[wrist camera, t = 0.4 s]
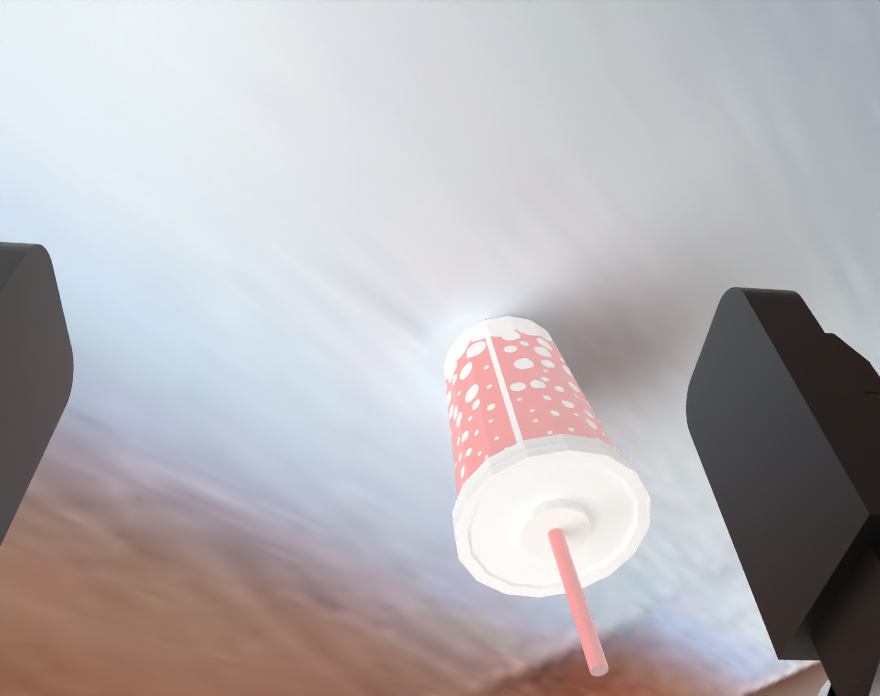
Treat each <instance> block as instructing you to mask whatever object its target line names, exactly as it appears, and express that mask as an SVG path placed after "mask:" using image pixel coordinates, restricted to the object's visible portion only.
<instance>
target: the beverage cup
mask: <svg viewBox="0 0 880 696" xmlns="http://www.w3.org/2000/svg"><path fill="white" fill-rule="evenodd" d="M444 372H445V381H446V391H447V400H448V409H449V418H450V427H451V437H452V446H453V455H454V464H455V473H456V483H457V492H458V498H457V501H456V504H455V506H454V509H453V512H452V516H453V522H454V524H453V527H454V533H455V539H456V545H457V552H458V557H459V560H460V561H461V562H462V563H463V565H464V566H465V567H466V568H467V569H468V571H469V572H470V573H471V574H472V575H473V577H474V578H475V579H476V580H477V581H479V582H481V583H483V584H485V585H487V586H489V587H492V588H494V589H496V590H498V591H500V592H502V593H505V594H511V595H521V596H531V597H545V596H551V595H556V594H562V593H566V596H567V599H568V602H569V605H570V609H571V612H572V615H573V618H574V621H575V625H576V628H577V631H578V634H579V638H580V641H581V644H582V647H583V650H584V654H585V657H586V660H587V663H588V666H589V670H590V673H591V674H592V675H593V676H602V675H604V674H605V673H607V671H608V665H607V662H606V659H605V656H604V653H603V650H602V647H601V644H600V641H599V638H598V635H597V632H596V629H595V626H594V623H593V620H592V617H591V614H590V611H589V608H588V605H587V602H586V599H585V596H584V593H583V590H582V588H584V587H586V586H588V585H590V584H592V583H594V582H596V581H599V580H601V579H603V578H605V577H607V576H609V575H610V574H612V573H613V572H614V571H615V570H616V569H617V568H618V567H619V566H621V565H622V564H623V563H624V562H625V561H626V560H627V559H629V558H630V557H631V556H632V555H633V554H634V553H635V552H636V550H637V548H638V546H639V545H640V543H641V541H642V539H643V537H644V535H645V533H646V532H647V530H648V528H649V526H650V495H649V493H648V491H647V489H646V488H645V486H644V484H643V483H642V481H641V479H640V477H639V476H638V474H637V472H636V471H635V469H634V467H633V465H632V464H631V462H630V460H629V459H628V457H627V456H626V455H625V454H623V453H621V452H620V451H618V450H616V449H615V448H614V447H613V445H612V444H611V442H610V440H609V438H608V436H607V435H606V433H605V431H604V429H603V428H602V426H601V424H600V422H599V421H598V419H597V417H596V415H595V414H594V412H593V410H592V408H591V407H590V405H589V403H588V401H587V399H586V398H585V396H584V394H583V392H582V391H581V389H580V387H579V385H578V384H577V382H576V380H575V378H574V377H573V375H572V373H571V371H570V370H569V368H568V366H567V364H566V362H565V361H564V359H563V357H562V355H561V354H560V352H559V350H558V348H557V347H556V345H555V343H554V342H553V340H552V338H551V337H550V335H549V333H548V331H546V330H545V329H543V328H542V327H540V326H539V325H537V324H536V323H534V322H533V321H531V320H528V319H523V318H518V317H512V316H504V317H498V318H492V319H486V320H483V321H482V322H480V323H478V324H476V325H474V326H472V327H471V328H469V329H467V330H465V331H464V332H463V333H462V334H461V335H460V337H459V338H458V339H457V340H456V341H455V342H454V343H453V345H452V346H451V347H450V349H449V352H448V355H447V358H446V361H445V364H444Z"/></svg>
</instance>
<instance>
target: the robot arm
mask: <svg viewBox="0 0 880 696" xmlns="http://www.w3.org/2000/svg"><path fill="white" fill-rule="evenodd" d="M72 381H73V353H72V348H71V343H70V339H69V335H68V330H67V326H66V322H65V317H64V313H63V308H62V304H61V300H60V295H59V291H58V287H57V282H56V278H55V274H54V269H53V265H52V261H51V258H50V256H49V253H48V252H47V250H46V249H45V248H44V247H43V246H42V245H39V244H26V243H9V242H0V546H1V544H2V541H3V539H4V537H5V535H6V533H7V531H8V529H9V526H10V524H11V522H12V520H13V518H14V516H15V514H16V511H17V509H18V507H19V505H20V503H21V501H22V499H23V496H24V494H25V492H26V490H27V488H28V486H29V484H30V482H31V479H32V477H33V475H34V473H35V471H36V469H37V467H38V464H39V462H40V460H41V458H42V456H43V454H44V452H45V449H46V447H47V445H48V443H49V441H50V439H51V437H52V434H53V432H54V430H55V428H56V426H57V424H58V422H59V419H60V417H61V415H62V413H63V411H64V409H65V407H66V404H67V402H68V399H69V396H70V392H71V388H72ZM686 414H687V423H688V428H689V431H690V434H691V437H692V439H693V442H694V444H695V447H696V450H697V452H698V455H699V457H700V460H701V462H702V465H703V468H704V470H705V473H706V475H707V478H708V480H709V483H710V485H711V488H712V491H713V493H714V496H715V498H716V501H717V503H718V506H719V509H720V511H721V514H722V516H723V519H724V521H725V524H726V526H727V529H728V532H729V534H730V537H731V539H732V542H733V544H734V547H735V550H736V552H737V555H738V557H739V560H740V562H741V565H742V567H743V570H744V573H745V575H746V578H747V580H748V583H749V585H750V588H751V591H752V593H753V596H754V598H755V601H756V603H757V606H758V608H759V611H760V614H761V616H762V619H763V621H764V624H765V626H766V629H767V632H768V634H769V637H770V639H771V642H772V644H773V647H774V649H775V652H776V655H777V657H778V660H821V663H822V665H823V667H824V669H825V672H826V674H827V676H828V680H827V682H826V684H825V685H824V686H823V687H822V689H821V690H820V692H819V694H818V696H880V377H879V375H878V374H877V372H876V371H875V369H874V368H873V367H872V365H871V364H870V362H869V361H868V360H866V359H865V358H864V357H863V356H861V355H860V354H859V353H858V352H856V351H855V350H854V349H853V348H851V347H850V346H849V345H848V344H846V343H845V342H844V341H843V340H841V339H840V338H839V337H837V336H836V335H835V334H832V333H825V332H824V331H823V329H822V328H821V326H820V325H819V323H818V322H817V320H816V319H815V317H814V316H813V314H812V313H811V311H810V309H809V308H808V306H807V305H806V303H805V302H804V300H803V299H802V298H801V296H800V295H799V294H798V293H796V292H794V291H789V290H772V289H755V288H738V287H733V288H730V289H729V290H727V291H726V292H725V294H724V295H723V296H722V298H721V300H720V302H719V305H718V307H717V310H716V313H715V315H714V318H713V321H712V324H711V326H710V329H709V332H708V334H707V337H706V340H705V342H704V345H703V348H702V351H701V353H700V356H699V359H698V361H697V364H696V367H695V369H694V372H693V375H692V378H691V380H690V384H689V387H688V392H687V401H686Z"/></svg>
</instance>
